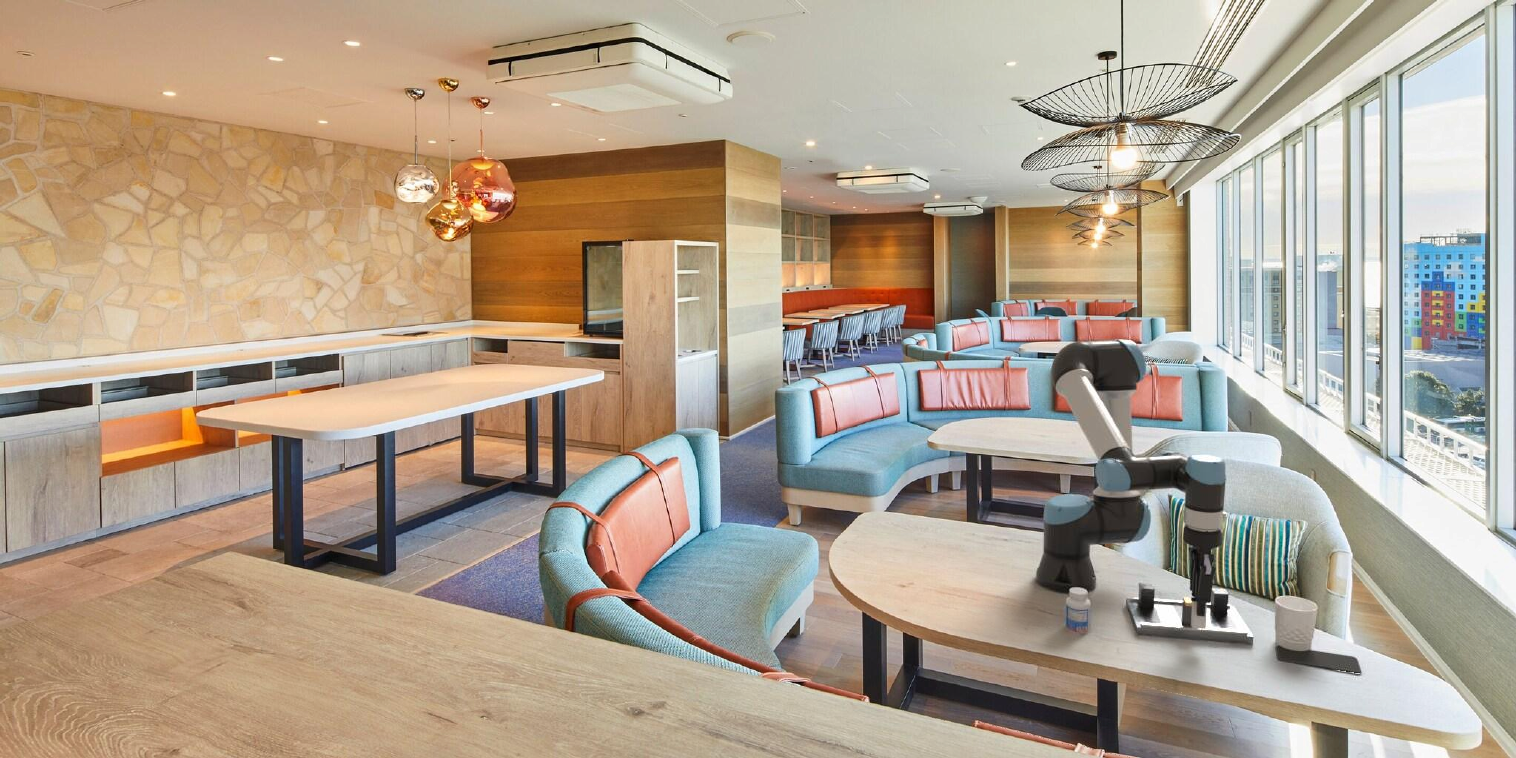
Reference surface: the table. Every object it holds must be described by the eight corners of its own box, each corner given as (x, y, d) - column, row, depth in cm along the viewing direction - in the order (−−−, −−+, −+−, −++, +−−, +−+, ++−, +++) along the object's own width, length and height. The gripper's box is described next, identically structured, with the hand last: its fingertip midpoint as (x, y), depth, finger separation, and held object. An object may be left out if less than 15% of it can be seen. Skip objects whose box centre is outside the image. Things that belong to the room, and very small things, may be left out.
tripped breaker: (1184, 626, 190) (1185, 602, 189) (1181, 620, 193) (1182, 597, 192) (1199, 627, 189) (1200, 603, 188) (1195, 621, 192) (1197, 598, 191)
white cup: (1320, 655, 179) (1324, 612, 178) (1280, 652, 181) (1283, 610, 179) (1304, 637, 187) (1308, 596, 185) (1266, 635, 188) (1269, 594, 187)
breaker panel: (1136, 635, 191) (1137, 607, 190) (1125, 605, 206) (1126, 579, 205) (1252, 644, 185) (1254, 615, 183) (1232, 613, 200) (1234, 586, 199)
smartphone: (1274, 643, 184) (1357, 656, 177) (1274, 647, 184) (1356, 660, 177) (1277, 659, 178) (1362, 672, 170) (1276, 663, 178) (1362, 676, 171)
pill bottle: (1071, 621, 199) (1072, 583, 197) (1093, 628, 195) (1095, 589, 194) (1061, 629, 195) (1062, 591, 194) (1083, 636, 191) (1085, 597, 190)
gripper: (1230, 537, 173) (1225, 642, 177) (1214, 517, 186) (1209, 615, 189) (1191, 535, 175) (1186, 639, 179) (1177, 515, 188) (1173, 613, 191)
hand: (1198, 626), depth 184 cm, fingers closed
